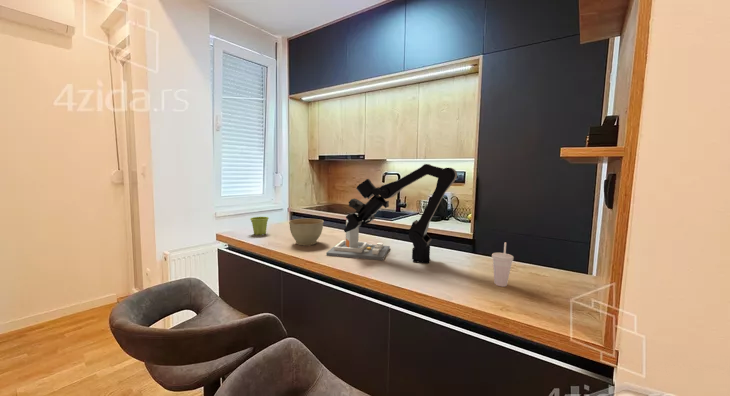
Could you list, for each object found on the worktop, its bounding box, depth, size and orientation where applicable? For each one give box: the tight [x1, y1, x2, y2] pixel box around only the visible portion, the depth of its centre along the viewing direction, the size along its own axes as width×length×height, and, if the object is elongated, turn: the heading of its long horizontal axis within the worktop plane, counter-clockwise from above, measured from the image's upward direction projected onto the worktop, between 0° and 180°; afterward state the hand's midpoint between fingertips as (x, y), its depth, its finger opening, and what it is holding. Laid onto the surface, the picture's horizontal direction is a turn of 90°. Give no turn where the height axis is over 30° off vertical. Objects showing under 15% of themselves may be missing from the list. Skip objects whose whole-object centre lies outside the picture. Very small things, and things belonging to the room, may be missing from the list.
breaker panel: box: [325, 239, 390, 261], centre depth 131 cm, size 24×18×3 cm
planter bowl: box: [288, 218, 324, 246], centre depth 143 cm, size 16×16×11 cm
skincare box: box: [345, 219, 360, 248], centre depth 132 cm, size 6×4×12 cm
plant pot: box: [249, 216, 270, 236], centre depth 161 cm, size 9×9×9 cm
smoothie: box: [491, 242, 514, 288], centre depth 96 cm, size 6×6×14 cm
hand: (348, 229), depth 132 cm, fingers open, 8 cm apart
